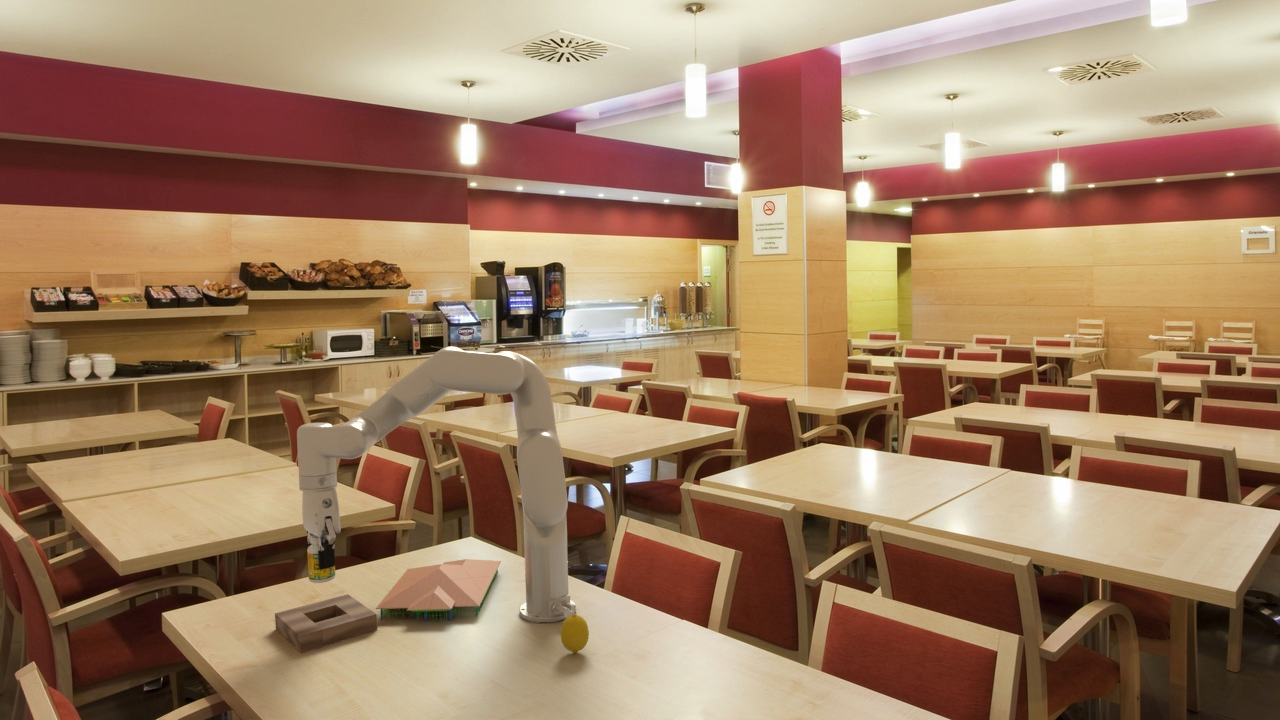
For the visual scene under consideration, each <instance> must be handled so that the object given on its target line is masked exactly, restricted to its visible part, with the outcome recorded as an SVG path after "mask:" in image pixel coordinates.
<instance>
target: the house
mask: <svg viewBox="0 0 1280 720" xmlns="http://www.w3.org/2000/svg"><path fill="white" fill-rule="evenodd" d="M501 562H502V561H501V560H489V559H471V558H465V559H458V560H457V559H456V560H452V561H450V560H449V561H444V562H443V563H441V564H433V565H425V566H420V567H413V568H407V569H406V570H405V572H404V573H403V575H401V576H400V578H399V579H398V581H396V583H395V584H394V586H392V588H391V589H390V590H389V592H388V593H387V594H386V595H385V596H384V597H383V599H382V600H381V601H380V603H379V604H378V605H377V606H376V607H375V610H380V619H381V620H383V618H385V620H386V619H387V618H386V614H387V615H392V619H394V614H395V615H397V612H394V611H393V609H395V610H398V609H399V612H398V613H401V610H400V609H406V612H409V614H410V615H412V613H414V614H415V619H417V618H418V619H419V617H420V616H421V615H422V613H423V614H424V622H426V621H427V619H428V620H429V622H430V616H431V617H434V614H431V615H430V614H429V612H436V613H435V616H436V620H438V617H437V616H439V621H440V622H441V621H442V620H441V618H442V617H441V614H437V613H438V612H446V613H445V614H446V615H445V616H446V620H449V621H451V619H452V618H453V616H454V617H455V618H456V617H457V616H456V615H457V614H456V613H457V611H456V608H458V609H459V608H461V610H462V611H460V610H458V613H460V612H461V613H462V615H461V616H464V613H467V612H468V613H473V618H474V617H476V618H477V617H478V615H479V613H480V611H481V608H482V607H483V604H484V602H485V600H486V598H487V596H488V595H489V592H490V589H492V586H493V583H494V582H495V580H496V577H497V575H498V574H499V571H498V568H499V566H500V565H501ZM464 607H465V608H469V609H470V608H472V609H473V610H468V611H467V610H463V608H464ZM474 608H475V610H474ZM390 609H391V610H392V611H391V612H389V611H390ZM387 611H388V612H387ZM393 612H394V613H393ZM421 612H422V613H421ZM447 612H448V613H447ZM474 612H475V613H474ZM478 612H479V613H478ZM454 614H455V615H454ZM404 615H405V612H404V611H402V616H403V620H404V619H405V616H404ZM419 615H420V616H419ZM447 616H448V617H447ZM465 617H466V618H467V615H465ZM395 618H396V619H395V620H397V619H398V618H397V617H395Z"/></svg>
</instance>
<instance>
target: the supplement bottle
mask: <svg viewBox="0 0 1280 720" xmlns="http://www.w3.org/2000/svg"><path fill="white" fill-rule="evenodd" d="M322 534H323V535H327V532H324V533H322ZM325 540H327V538H323V543H324V541H325ZM309 544H312V545H310V546H309V547H308V546H307V549H306V550H307V551H306V553H307V569H308V570H307V571H308V580H309V582H311V583H313V584H322V583H326V582H330V581H333V580H334V579H335V578H336V565H335V566H334V567H330V568H325V569H319V559H318V551H319V550H320V547H319V540H318V537H317V536H315V535H312V536H310V543H309Z"/></svg>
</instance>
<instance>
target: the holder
mask: <svg viewBox="0 0 1280 720" xmlns="http://www.w3.org/2000/svg"><path fill="white" fill-rule="evenodd" d="M377 617H378V616H377V613H376V612H374V611H373V610H371V608H368V607H367V606H365V605H364V604H363V603H361V602H360V601H358V600H357V599H356V598H354V596H353V597H352V596H351V595H350V594H349V593H348V594H344V595H340V596H336V597H332V598H329V599H328V598H327V599H324V600H321V601H318V602H312V603H310V604H306V605H305V604H304V605H302V606H299V607H295V608H290V609H286V610H283V611H279V612H276V613H275V612H274V621H275V622H274V623H275V630H276V629H277V630H278V631H279V632H280V633H281V634H280V633H279V632H278V631H277V630H276V631H277V632H278V633H279V634H280V635H281V636H283V638H285V640H287V641H288V642H289V643H290V642H291V643H292V644H291V643H290V644H291V645H292V646H293V645H294V646H295V647H296V648H297V649H296V648H295V647H294V646H293V647H294V648H295V649H296V650H298V652H300V653H305V652H308V651H311V650H314V648H315V649H318V648H321V647H325V646H329V645H331V644H334V643H338V642H340V641H343V640H344V641H345V640H348V639H350V638H351V639H352V638H354V637H358V636H362V635H365V634H367V633H371V632H374V631H377V630H378V618H377ZM324 645H325V646H324ZM317 647H318V648H317ZM304 651H305V652H304Z"/></svg>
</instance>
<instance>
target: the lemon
mask: <svg viewBox="0 0 1280 720" xmlns="http://www.w3.org/2000/svg"><path fill="white" fill-rule="evenodd" d="M589 633H590V631H589V627H588V623H587V621H586V620H585V619H584V617H582V616H581V615H579V614H578V615H577V614H576V613H574V614H572V615H571V616H569V617H567V618H566V619H564V621H563V622H562V625H561V628H560V640H561V643H562V645H563V648H564V649H566V650H568V651H570V652H572V654H577V653H578V652H579V651H582V650H583V649H584V648H585V647H586V646H587V644H588V641H589V635H590V634H589Z"/></svg>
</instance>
